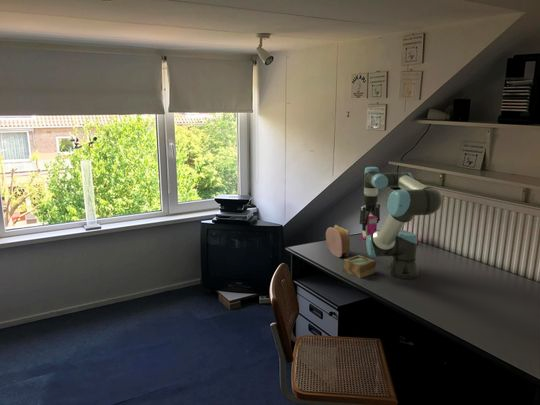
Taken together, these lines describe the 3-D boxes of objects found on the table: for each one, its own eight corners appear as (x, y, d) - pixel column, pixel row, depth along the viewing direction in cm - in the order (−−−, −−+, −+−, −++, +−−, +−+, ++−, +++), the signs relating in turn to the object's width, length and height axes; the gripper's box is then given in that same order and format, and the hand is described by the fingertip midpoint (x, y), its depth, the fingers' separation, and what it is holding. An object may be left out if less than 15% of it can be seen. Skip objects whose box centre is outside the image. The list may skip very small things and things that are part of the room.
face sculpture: (351, 258, 260) (352, 231, 257) (341, 260, 258) (342, 233, 254) (332, 248, 278) (333, 223, 274) (323, 250, 275) (324, 224, 271)
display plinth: (375, 272, 238) (375, 260, 237) (359, 278, 231) (360, 265, 230) (358, 266, 248) (359, 255, 246) (343, 271, 241) (343, 259, 239)
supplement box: (361, 234, 251) (362, 215, 248) (370, 233, 253) (371, 214, 251) (367, 237, 246) (368, 217, 243) (376, 236, 248) (377, 216, 245)
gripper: (377, 191, 253) (376, 230, 258) (353, 195, 242) (352, 236, 247) (387, 193, 247) (386, 233, 252) (363, 198, 236) (361, 239, 241)
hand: (369, 234), depth 249 cm, fingers closed on supplement box, 6 cm apart
